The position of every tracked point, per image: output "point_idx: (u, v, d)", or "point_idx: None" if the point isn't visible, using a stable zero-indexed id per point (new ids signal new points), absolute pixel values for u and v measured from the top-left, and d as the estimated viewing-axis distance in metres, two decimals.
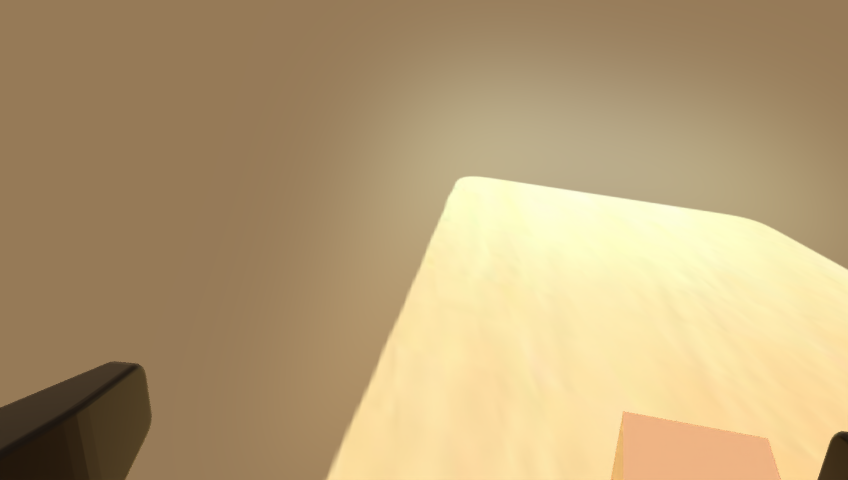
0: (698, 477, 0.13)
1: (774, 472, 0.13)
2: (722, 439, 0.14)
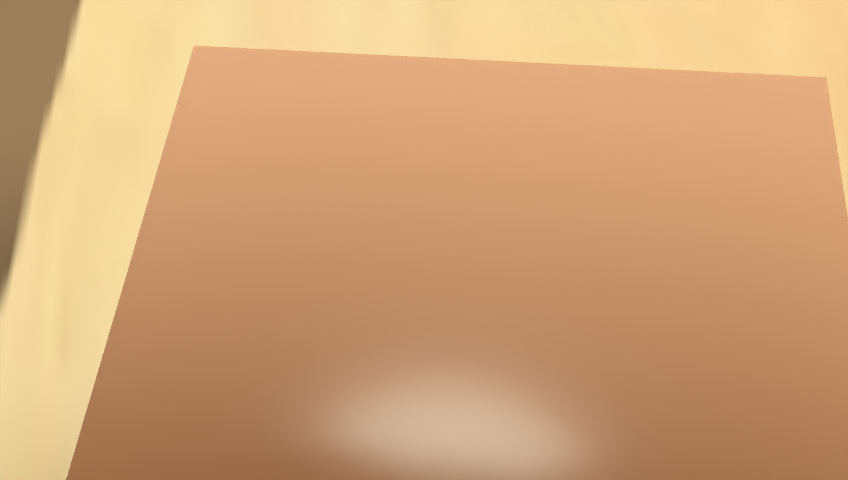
0: (450, 432, 0.03)
1: (839, 308, 0.03)
2: (612, 124, 0.03)
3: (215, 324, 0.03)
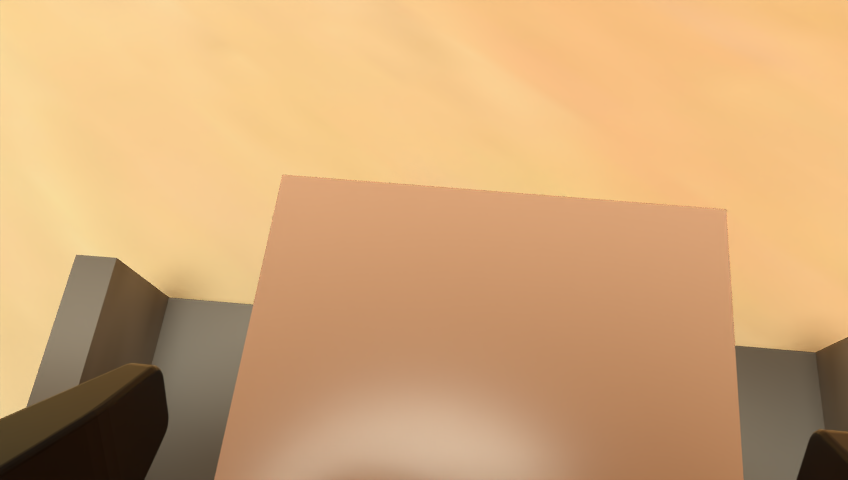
0: (463, 455, 0.04)
1: (722, 376, 0.04)
2: (575, 241, 0.04)
3: (307, 380, 0.04)
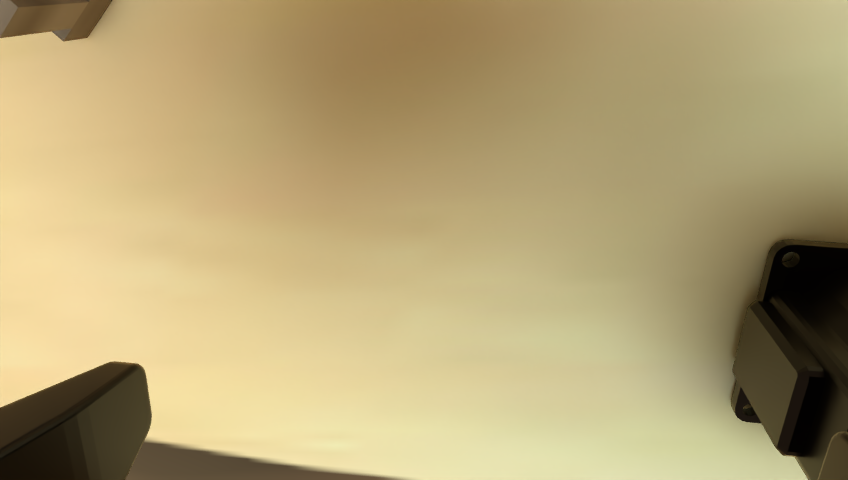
0: None
1: None
2: None
3: None
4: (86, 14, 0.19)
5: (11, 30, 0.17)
